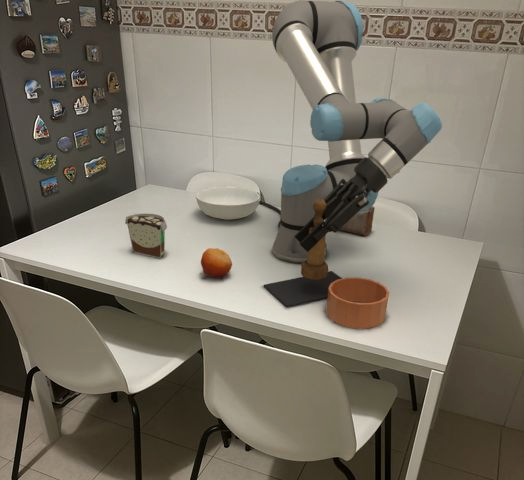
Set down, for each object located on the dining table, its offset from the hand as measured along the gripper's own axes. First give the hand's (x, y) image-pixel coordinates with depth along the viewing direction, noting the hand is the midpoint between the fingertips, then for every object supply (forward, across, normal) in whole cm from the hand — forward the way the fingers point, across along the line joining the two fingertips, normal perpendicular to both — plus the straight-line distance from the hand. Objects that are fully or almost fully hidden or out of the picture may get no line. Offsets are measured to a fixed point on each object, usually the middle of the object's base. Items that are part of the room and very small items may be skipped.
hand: (300, 244), depth 120 cm
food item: (-10, +40, -28) cm, 50 cm away
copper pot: (+2, -13, -16) cm, 21 cm away
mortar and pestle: (+3, 0, -8) cm, 9 cm away
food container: (+33, +31, +15) cm, 48 cm away
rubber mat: (+6, +1, -11) cm, 13 cm away
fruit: (+22, +13, +4) cm, 26 cm away
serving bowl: (+15, +58, -3) cm, 60 cm away
